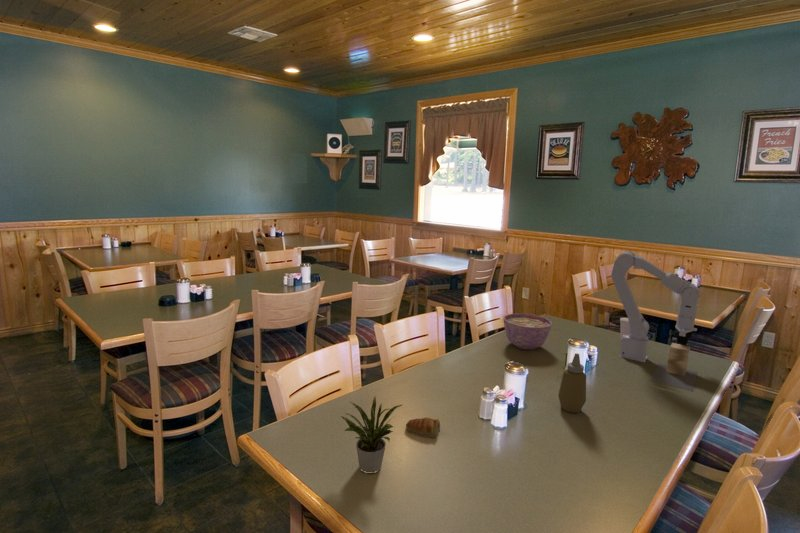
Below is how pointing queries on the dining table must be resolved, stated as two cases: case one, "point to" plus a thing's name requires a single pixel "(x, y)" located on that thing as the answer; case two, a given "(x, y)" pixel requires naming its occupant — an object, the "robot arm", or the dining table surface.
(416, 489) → the dining table surface
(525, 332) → the bowl of food
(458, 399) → the dining table surface
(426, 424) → the pastry
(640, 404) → the dining table surface
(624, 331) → the smoothie
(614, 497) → the dining table surface
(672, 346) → the birch block
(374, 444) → the house plant
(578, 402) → the squeeze bottle
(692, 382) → the rubber mat
